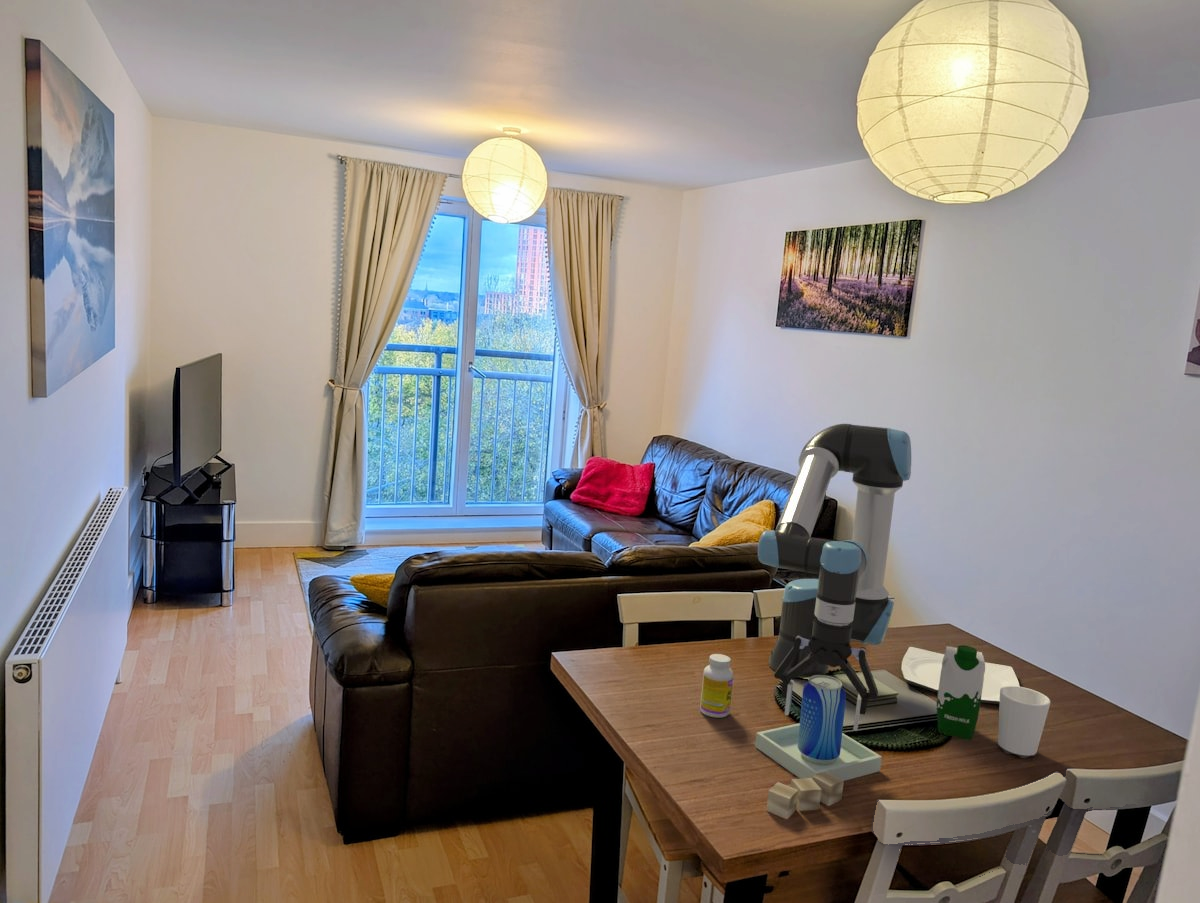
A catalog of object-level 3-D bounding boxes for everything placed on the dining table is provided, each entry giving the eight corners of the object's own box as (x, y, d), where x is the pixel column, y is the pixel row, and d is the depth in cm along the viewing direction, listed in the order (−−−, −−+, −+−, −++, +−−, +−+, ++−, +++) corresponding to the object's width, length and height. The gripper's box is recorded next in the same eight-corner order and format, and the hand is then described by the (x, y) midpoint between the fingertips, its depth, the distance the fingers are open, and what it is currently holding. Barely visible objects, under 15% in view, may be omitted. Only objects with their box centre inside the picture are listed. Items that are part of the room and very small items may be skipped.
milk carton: (934, 734, 192) (946, 648, 189) (932, 717, 201) (944, 635, 198) (976, 743, 189) (990, 656, 186) (973, 726, 198) (986, 642, 195)
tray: (817, 732, 189) (819, 718, 188) (879, 771, 174) (881, 756, 173) (754, 746, 180) (756, 732, 179) (814, 788, 165) (816, 773, 164)
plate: (897, 689, 216) (898, 679, 216) (903, 653, 243) (904, 643, 242) (1023, 717, 206) (1024, 706, 206) (1015, 675, 232) (1016, 666, 232)
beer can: (791, 745, 180) (798, 672, 178) (831, 745, 181) (838, 673, 178) (804, 766, 172) (811, 690, 169) (845, 766, 173) (853, 691, 170)
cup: (1039, 767, 181) (1048, 709, 179) (988, 752, 186) (997, 696, 184) (1043, 749, 189) (1052, 694, 187) (995, 735, 194) (1003, 681, 192)
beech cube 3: (775, 802, 159) (777, 781, 159) (795, 810, 157) (798, 790, 156) (766, 811, 156) (768, 790, 155) (787, 819, 154) (789, 798, 153)
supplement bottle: (728, 721, 191) (734, 665, 189) (698, 716, 192) (703, 661, 190) (730, 708, 197) (735, 654, 195) (701, 703, 198) (706, 650, 197)
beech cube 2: (808, 797, 162) (811, 777, 161) (819, 809, 158) (821, 789, 157) (789, 799, 161) (791, 779, 160) (799, 811, 157) (801, 790, 156)
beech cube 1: (823, 790, 165) (825, 770, 164) (841, 800, 162) (843, 780, 161) (810, 796, 162) (813, 776, 162) (828, 806, 159) (830, 786, 159)
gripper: (767, 613, 173) (756, 713, 176) (898, 637, 165) (884, 742, 168) (773, 603, 180) (762, 699, 183) (899, 626, 172) (886, 726, 175)
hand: (821, 720), depth 176 cm, fingers open, 13 cm apart
